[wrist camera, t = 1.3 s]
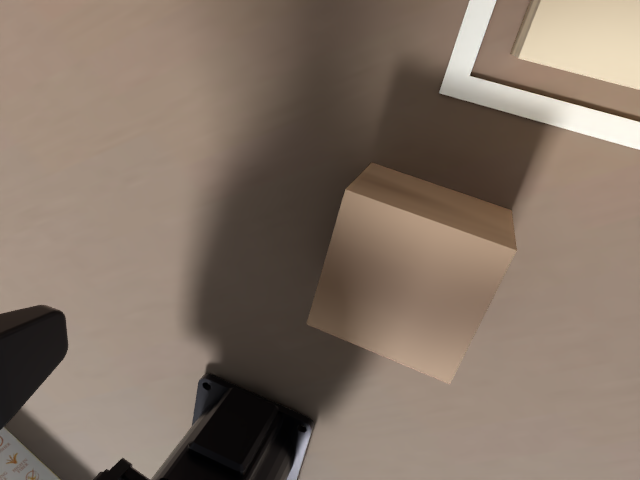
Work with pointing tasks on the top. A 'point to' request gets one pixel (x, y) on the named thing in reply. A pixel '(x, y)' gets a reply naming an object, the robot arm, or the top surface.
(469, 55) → the blueprint lines
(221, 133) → the top surface
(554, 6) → the maple block
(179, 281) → the top surface
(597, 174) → the top surface
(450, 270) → the light brown wooden block
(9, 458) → the cereal box
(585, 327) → the top surface
